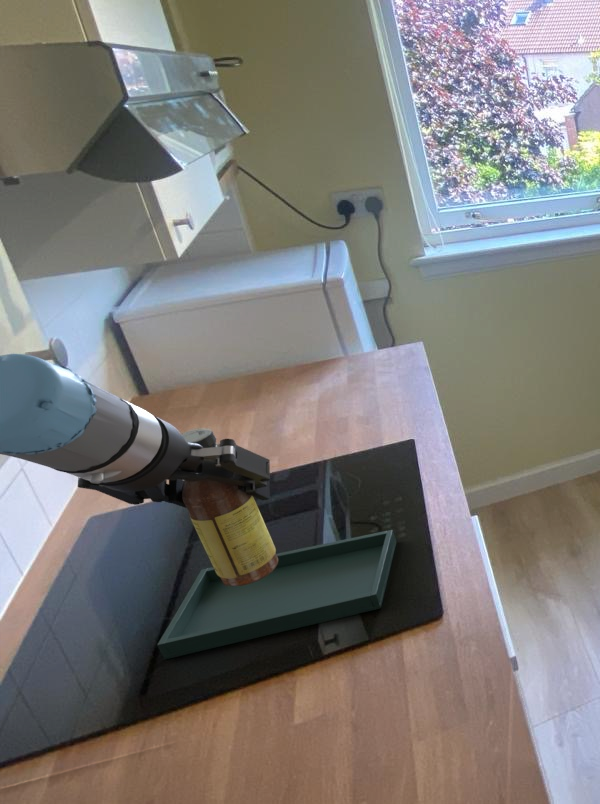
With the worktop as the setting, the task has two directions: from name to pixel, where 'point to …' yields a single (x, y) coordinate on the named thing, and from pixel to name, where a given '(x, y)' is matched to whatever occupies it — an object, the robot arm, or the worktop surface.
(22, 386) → the robot arm
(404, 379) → the worktop surface
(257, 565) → the sauce bottle
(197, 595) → the tray
